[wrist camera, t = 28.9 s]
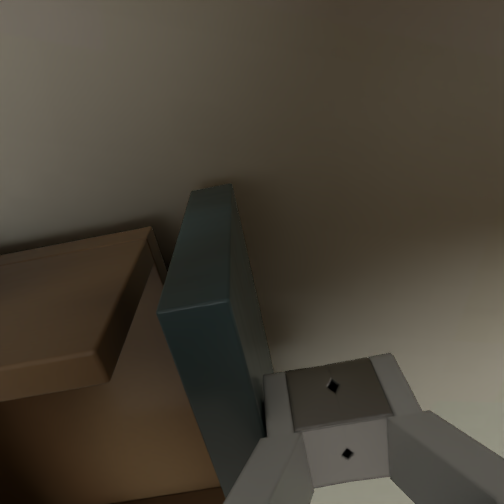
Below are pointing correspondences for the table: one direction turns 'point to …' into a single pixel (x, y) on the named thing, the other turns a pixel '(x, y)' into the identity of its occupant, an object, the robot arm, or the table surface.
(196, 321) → the drawer
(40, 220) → the table surface
